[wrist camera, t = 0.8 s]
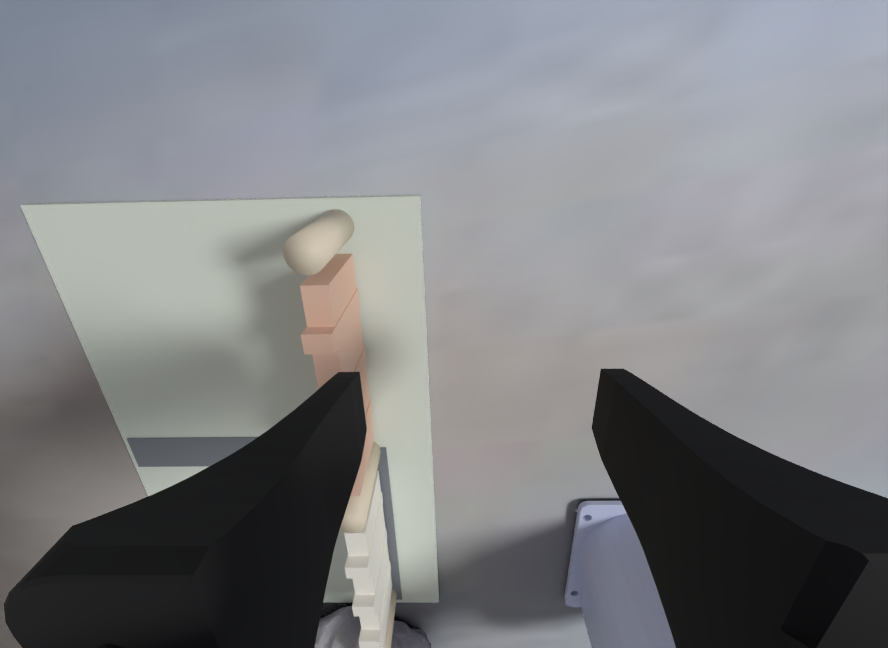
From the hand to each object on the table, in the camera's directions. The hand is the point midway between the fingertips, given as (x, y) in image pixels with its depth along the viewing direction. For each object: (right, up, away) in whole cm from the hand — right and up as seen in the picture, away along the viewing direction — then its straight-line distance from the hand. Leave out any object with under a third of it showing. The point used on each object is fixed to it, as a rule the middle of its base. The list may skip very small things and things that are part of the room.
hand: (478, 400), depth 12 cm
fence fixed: (-5, -10, +14) cm, 18 cm away
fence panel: (-5, +2, +8) cm, 10 cm away
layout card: (-10, -5, +12) cm, 16 cm away
